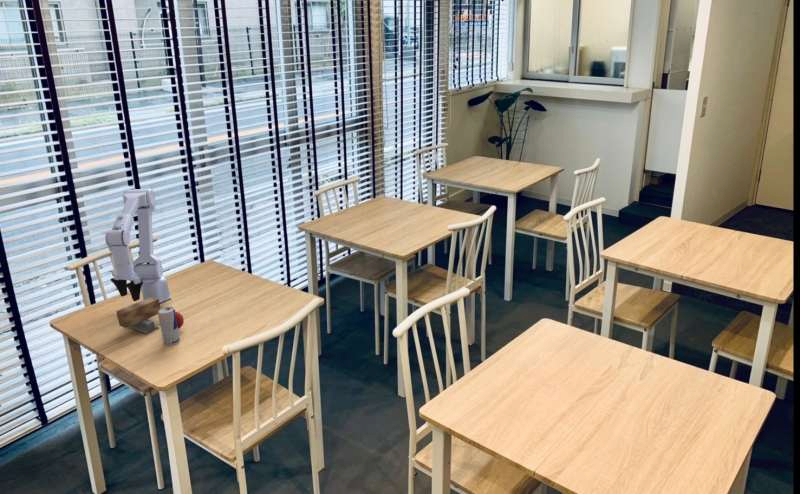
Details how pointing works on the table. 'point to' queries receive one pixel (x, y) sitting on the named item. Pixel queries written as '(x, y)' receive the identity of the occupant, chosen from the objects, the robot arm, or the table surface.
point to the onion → (179, 319)
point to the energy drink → (168, 326)
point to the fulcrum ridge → (145, 326)
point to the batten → (138, 312)
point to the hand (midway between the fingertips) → (130, 297)
